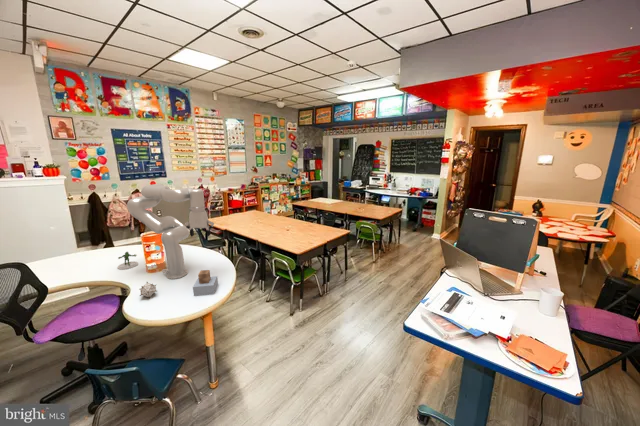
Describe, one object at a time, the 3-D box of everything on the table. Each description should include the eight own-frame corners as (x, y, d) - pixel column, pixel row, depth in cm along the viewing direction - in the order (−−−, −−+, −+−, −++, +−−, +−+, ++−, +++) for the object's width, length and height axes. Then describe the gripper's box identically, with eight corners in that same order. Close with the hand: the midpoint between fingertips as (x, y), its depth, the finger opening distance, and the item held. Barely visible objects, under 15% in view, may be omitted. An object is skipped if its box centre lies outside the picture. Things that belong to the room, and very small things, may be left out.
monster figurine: (139, 261, 188) (137, 248, 185) (136, 267, 177) (133, 254, 175) (120, 264, 183) (117, 251, 180) (115, 271, 172) (112, 257, 170)
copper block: (199, 283, 145) (198, 274, 144) (202, 279, 150) (200, 270, 148) (208, 283, 146) (207, 273, 144) (210, 278, 150) (209, 269, 149)
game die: (148, 300, 144) (146, 284, 147) (162, 295, 144) (159, 278, 147) (136, 302, 136) (133, 284, 139) (150, 296, 136) (147, 278, 139)
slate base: (193, 296, 143) (192, 287, 142) (199, 286, 153) (198, 277, 152) (214, 294, 145) (213, 285, 143) (218, 284, 155) (217, 276, 154)
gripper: (180, 210, 147) (183, 237, 151) (210, 210, 149) (212, 238, 153) (185, 207, 154) (188, 233, 159) (214, 208, 156) (216, 233, 160)
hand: (200, 235), depth 156 cm, fingers open, 9 cm apart
